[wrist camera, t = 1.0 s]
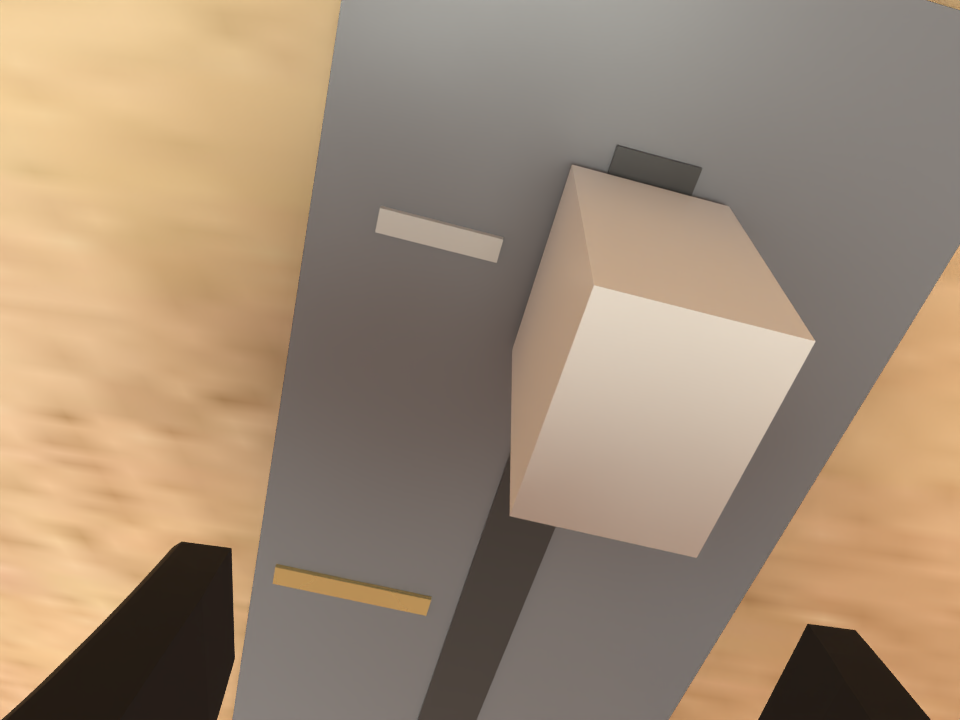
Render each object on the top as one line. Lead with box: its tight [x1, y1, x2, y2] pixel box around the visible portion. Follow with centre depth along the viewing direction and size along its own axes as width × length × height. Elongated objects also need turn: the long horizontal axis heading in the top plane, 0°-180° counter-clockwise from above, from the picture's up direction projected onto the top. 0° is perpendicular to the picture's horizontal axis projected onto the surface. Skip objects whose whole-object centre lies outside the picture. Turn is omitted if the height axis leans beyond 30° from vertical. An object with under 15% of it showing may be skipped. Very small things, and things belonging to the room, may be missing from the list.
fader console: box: [233, 0, 960, 720], centre depth 20 cm, size 12×26×2 cm, turn 166°
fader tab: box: [510, 165, 815, 558], centre depth 13 cm, size 3×4×5 cm
